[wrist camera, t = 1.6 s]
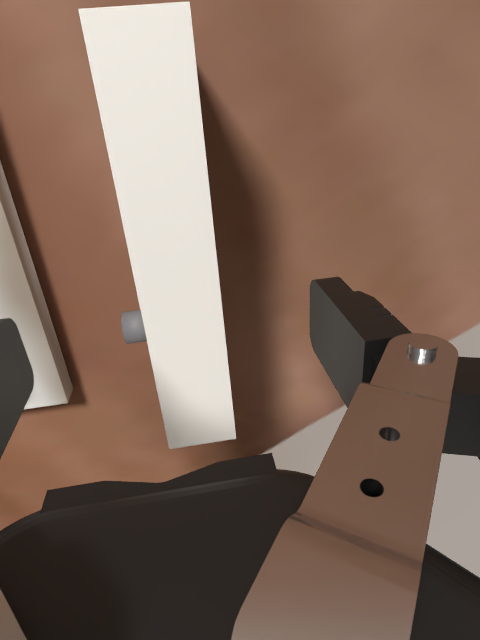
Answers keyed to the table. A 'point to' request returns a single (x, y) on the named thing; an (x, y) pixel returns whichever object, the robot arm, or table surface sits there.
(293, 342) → the table surface
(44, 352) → the cabinet side
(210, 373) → the door
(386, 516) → the robot arm
